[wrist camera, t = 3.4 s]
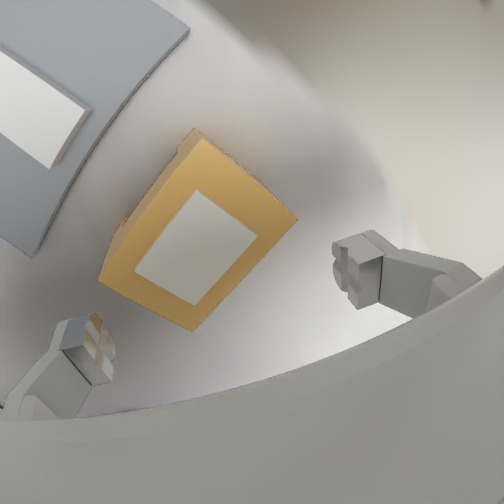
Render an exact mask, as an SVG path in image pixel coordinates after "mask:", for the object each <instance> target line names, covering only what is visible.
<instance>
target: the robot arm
mask: <svg viewBox="0 0 504 504" xmlns="http://www.w3.org/2000/svg"><path fill="white" fill-rule="evenodd" d="M332 254H333V255H334V257H335V258H336V260H335V262H334V263H333V274H334V277H335V281H336V283H337V285H338V286H339V288H340V289H341V290H342V291H345V292H348V299H349V300H350V301H351V303H352V304H353V305H354V306H355V308H356V309H357V310H359V309H362V308H364V307H367V306H370V305H372V304H375V303H377V302H379V303H380V304H383V305H385V306H387V307H389V308H391V309H394V310H396V311H398V312H400V313H402V314H405V315H407V316H409V317H411V318H413V319H412V320H410V321H408V322H406V323H404V324H402V325H400V326H398V327H396V328H394V329H392V330H390V331H388V332H385V333H383V334H381V335H379V336H377V337H375V338H372V339H370V340H368V341H366V342H363V343H361V344H359V345H356V346H354V347H352V348H349V349H347V350H344V351H342V352H339V353H337V354H334V355H332V356H329V357H327V358H324V359H322V360H319V361H316V362H314V363H311V364H308V365H305V366H303V367H300V368H297V369H294V370H291V371H288V372H285V373H282V374H279V375H276V376H273V377H270V378H267V379H264V380H260V381H257V382H254V383H251V384H247V385H244V386H240V387H237V388H233V389H230V390H226V391H222V392H219V393H215V394H211V395H207V396H203V397H199V398H194V399H190V400H186V401H181V402H177V403H172V404H167V405H162V406H157V407H151V408H146V409H140V410H134V411H128V412H121V413H114V414H107V415H99V416H90V417H80V418H75V417H76V415H77V413H78V411H79V410H80V408H81V406H82V404H83V403H84V401H85V399H86V397H87V396H88V394H89V392H90V390H91V389H92V386H95V385H100V384H104V383H109V382H112V380H113V370H114V366H113V365H112V364H111V362H112V360H113V359H114V358H115V353H116V349H115V343H114V340H113V338H112V336H111V334H110V333H109V331H108V330H106V329H104V328H102V320H101V319H100V317H99V316H98V314H96V313H90V314H86V315H82V316H78V317H74V318H71V319H66V320H63V321H60V322H58V324H57V326H56V329H55V332H54V334H53V337H52V340H51V343H50V346H49V349H48V352H47V353H46V354H43V355H42V357H41V358H40V359H39V360H38V361H37V362H36V363H35V364H34V365H33V367H32V368H31V369H30V370H29V371H28V372H27V373H26V374H25V376H24V377H23V378H22V379H21V380H20V381H19V382H18V384H17V385H16V386H15V387H14V388H13V390H12V391H11V392H10V393H9V394H8V395H7V398H6V401H5V405H4V408H3V409H1V408H0V504H504V266H503V267H501V268H500V269H499V270H497V271H495V272H494V273H492V274H491V275H489V276H488V277H486V278H485V279H482V278H481V277H479V276H478V275H477V274H476V273H475V272H473V271H472V270H471V269H470V268H468V267H467V266H466V265H464V264H463V263H461V262H457V261H453V260H448V259H444V258H440V257H436V256H432V255H428V254H423V253H419V252H415V251H411V250H406V249H400V250H399V249H397V248H396V247H395V246H394V245H392V244H391V243H390V242H388V241H387V240H386V239H385V238H383V237H382V236H381V235H379V234H378V233H377V232H376V231H374V230H368V231H365V232H362V233H360V234H357V235H354V236H351V237H348V238H345V239H343V240H340V241H337V242H334V243H333V244H332Z"/></svg>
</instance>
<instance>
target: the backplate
mask: <svg viewBox="0 0 504 504" xmlns="http://www.w3.org/2000/svg"><path fill="white" fill-rule="evenodd" d="M189 31H190V27H188V26H187V25H186V24H184V23H183V22H181V21H180V20H179V19H177V18H176V17H174V16H173V15H172V14H170V13H169V12H167V11H166V10H164V9H163V8H161V7H160V6H158V5H157V4H155V3H154V2H152V1H151V0H0V236H1V237H3V238H4V239H5V240H7V241H8V242H9V243H11V244H12V245H13V246H15V247H16V248H18V249H19V250H20V251H22V252H23V253H25V254H26V255H27V256H29V257H30V258H33V256H34V255H35V254H36V252H37V251H38V249H39V248H40V246H41V243H42V241H43V239H44V237H45V235H46V232H47V230H48V228H49V226H50V224H51V222H52V220H53V218H54V216H55V214H56V212H57V210H58V208H59V206H60V204H61V203H62V201H63V199H64V197H65V195H66V193H67V192H68V190H69V188H70V186H71V184H72V183H73V181H74V179H75V178H76V176H77V174H78V173H79V171H80V169H81V168H82V166H83V164H84V163H85V161H86V160H87V158H88V156H89V155H90V153H91V152H92V150H93V149H94V147H95V146H96V144H97V143H98V141H99V140H100V138H101V137H102V135H103V134H104V133H105V131H106V130H107V128H108V127H109V125H110V124H111V123H112V121H113V120H114V119H115V117H116V116H117V115H118V113H119V112H120V111H121V109H122V108H123V107H124V105H125V104H126V103H127V102H128V100H129V99H130V98H131V97H132V95H133V94H134V93H135V92H136V90H137V89H138V88H139V87H140V86H141V84H142V83H143V82H144V81H145V80H146V78H147V77H148V76H149V75H150V74H151V73H152V72H153V71H154V69H155V68H156V67H157V66H158V65H159V64H160V63H161V62H162V61H163V60H164V58H165V57H166V56H167V55H168V54H169V53H170V52H171V51H172V50H173V49H174V48H175V47H176V46H177V45H178V44H179V43H180V42H181V41H182V40H183V39H184V38H185V37H186V36H187V35H188V34H189Z"/></svg>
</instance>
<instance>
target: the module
mask: <svg viewBox="0 0 504 504" xmlns="http://www.w3.org/2000/svg"><path fill="white" fill-rule="evenodd" d="M297 220H298V219H297V218H296V217H295V216H294V215H293V214H292V213H291V212H290V211H289V210H288V209H287V208H286V207H285V206H284V205H283V204H282V203H281V202H280V201H279V200H278V199H277V198H276V197H275V196H274V195H273V194H272V193H271V192H270V191H269V190H268V189H267V188H266V187H264V186H263V185H262V184H261V183H260V182H259V181H257V180H256V179H255V178H254V177H253V176H252V175H250V174H249V173H248V172H247V171H246V170H245V169H243V168H242V167H241V166H240V165H239V164H237V163H236V162H235V161H234V160H233V159H231V158H230V157H229V156H228V155H227V154H225V153H224V152H223V151H222V150H221V149H219V148H218V147H217V146H216V145H214V144H213V143H212V142H211V141H209V140H208V139H207V138H206V137H205V136H203V135H202V134H201V133H200V132H198V131H197V130H196V129H193V130H192V131H191V132H190V133H189V134H188V136H187V137H186V138H185V139H184V140H183V141H182V143H181V144H180V145H179V146H178V148H177V154H176V155H175V157H174V158H173V159H172V160H171V162H170V163H169V164H168V165H167V167H166V168H165V169H164V171H163V172H162V173H161V174H160V176H159V177H158V178H157V180H156V181H155V182H154V184H153V185H152V186H151V188H150V189H149V190H148V192H147V193H146V194H145V196H144V197H143V198H142V200H141V201H140V203H139V204H138V205H137V207H136V208H135V210H134V211H133V212H132V214H131V215H130V217H128V216H126V217H125V218H124V220H123V221H122V223H121V224H120V226H119V227H118V229H117V230H116V232H115V233H114V235H113V238H112V240H111V243H110V246H109V249H108V251H107V254H106V257H105V260H104V263H103V266H102V269H101V272H100V275H99V278H98V282H100V283H102V284H103V285H105V286H107V287H109V288H110V289H112V290H114V291H115V292H117V293H119V294H121V295H122V296H124V297H126V298H128V299H130V300H131V301H133V302H135V303H137V304H139V305H140V306H142V307H144V308H146V309H148V310H150V311H152V312H154V313H155V314H157V315H159V316H161V317H163V318H165V319H167V320H169V321H171V322H173V323H175V324H177V325H179V326H181V327H183V328H185V329H187V330H189V331H191V332H193V331H194V330H195V329H196V328H197V327H198V326H199V325H200V324H201V323H202V322H203V320H204V319H205V318H206V317H207V316H208V315H209V314H210V313H211V312H212V311H213V310H214V309H215V308H216V307H217V306H218V305H219V304H220V302H221V301H222V300H223V299H224V298H225V297H226V296H227V295H228V294H229V293H230V292H231V291H232V290H233V289H234V288H235V287H236V285H237V284H238V283H239V282H240V281H241V280H242V279H243V278H244V277H245V276H246V275H247V274H248V273H249V272H250V270H251V269H252V268H253V267H254V266H255V265H256V264H257V263H258V262H259V261H260V260H261V259H262V258H263V257H264V255H265V254H266V253H267V252H268V251H269V250H270V249H271V248H272V247H273V246H274V245H275V244H276V243H277V241H278V240H279V239H280V238H281V237H282V236H283V235H284V234H285V233H286V232H287V231H288V230H289V229H290V227H291V226H292V225H293V224H294V223H295V222H296V221H297Z"/></svg>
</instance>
